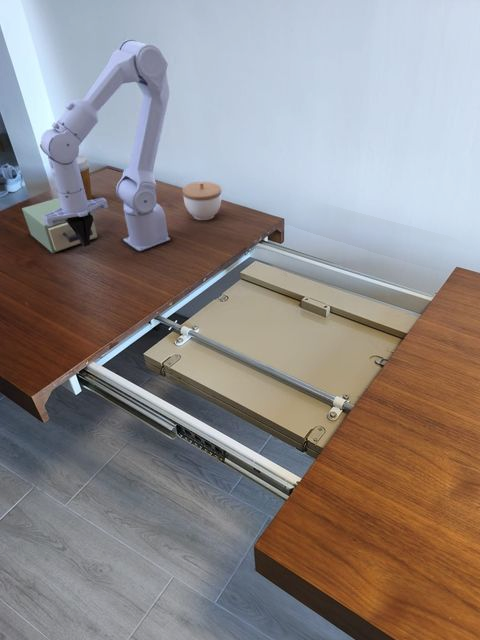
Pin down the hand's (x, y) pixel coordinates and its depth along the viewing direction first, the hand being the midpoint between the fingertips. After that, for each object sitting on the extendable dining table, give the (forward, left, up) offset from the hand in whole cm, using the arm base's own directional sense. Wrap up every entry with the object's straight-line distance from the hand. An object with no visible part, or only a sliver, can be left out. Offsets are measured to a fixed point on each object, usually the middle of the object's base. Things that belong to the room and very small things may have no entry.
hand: (85, 244), depth 113 cm
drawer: (-1, -12, -3) cm, 12 cm away
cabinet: (-1, -16, -4) cm, 16 cm away
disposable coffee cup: (-15, -34, -4) cm, 37 cm away
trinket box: (-36, -1, -4) cm, 36 cm away
